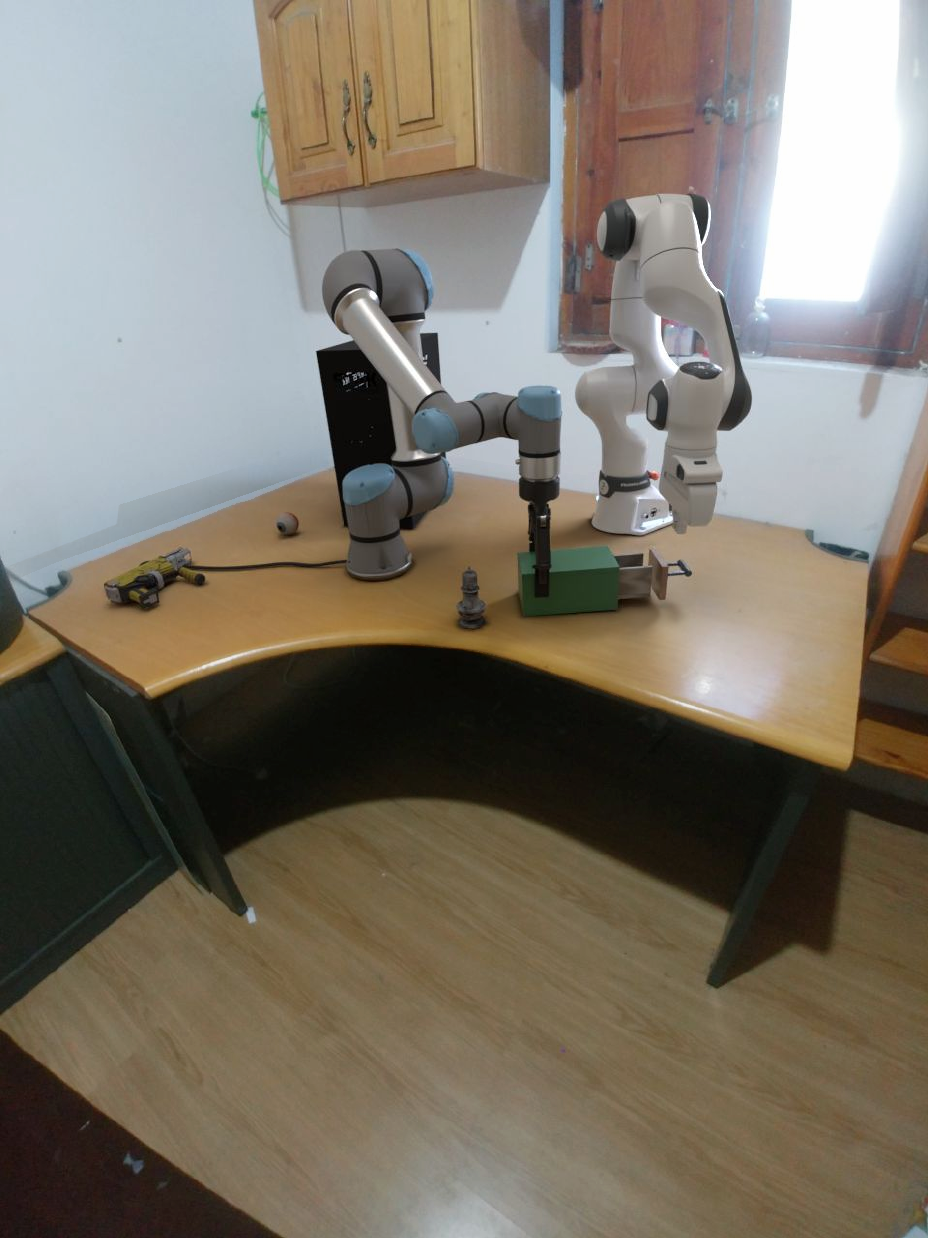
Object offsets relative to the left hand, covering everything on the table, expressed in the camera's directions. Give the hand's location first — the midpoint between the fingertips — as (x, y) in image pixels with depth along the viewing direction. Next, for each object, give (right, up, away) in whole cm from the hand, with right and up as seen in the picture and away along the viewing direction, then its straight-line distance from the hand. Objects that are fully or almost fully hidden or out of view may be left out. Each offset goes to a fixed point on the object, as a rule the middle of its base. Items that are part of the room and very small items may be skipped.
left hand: (538, 583), depth 122 cm
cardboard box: (-34, +27, +60) cm, 74 cm away
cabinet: (+6, -3, +2) cm, 7 cm away
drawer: (+19, -2, +1) cm, 19 cm away
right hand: (+26, +10, -6) cm, 29 cm away
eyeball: (-63, +16, +43) cm, 78 cm away
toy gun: (-83, +1, +19) cm, 85 cm away
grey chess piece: (-14, -8, -3) cm, 16 cm away
